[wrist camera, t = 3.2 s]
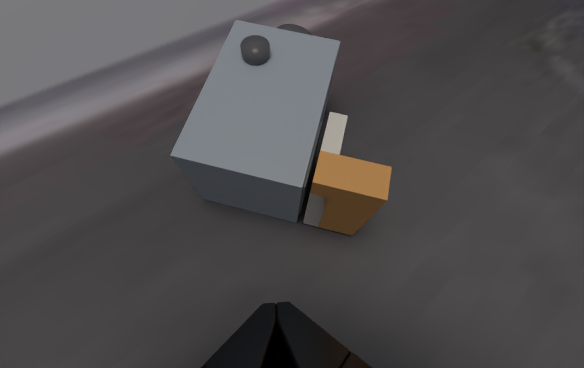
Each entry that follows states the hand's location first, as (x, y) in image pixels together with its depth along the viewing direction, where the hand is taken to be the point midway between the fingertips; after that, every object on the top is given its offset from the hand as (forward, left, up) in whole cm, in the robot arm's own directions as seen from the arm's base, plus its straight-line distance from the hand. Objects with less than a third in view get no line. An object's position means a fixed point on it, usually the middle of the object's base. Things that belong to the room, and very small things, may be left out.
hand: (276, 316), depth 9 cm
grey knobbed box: (+13, -6, -13) cm, 19 cm away
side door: (+6, -8, -13) cm, 16 cm away
